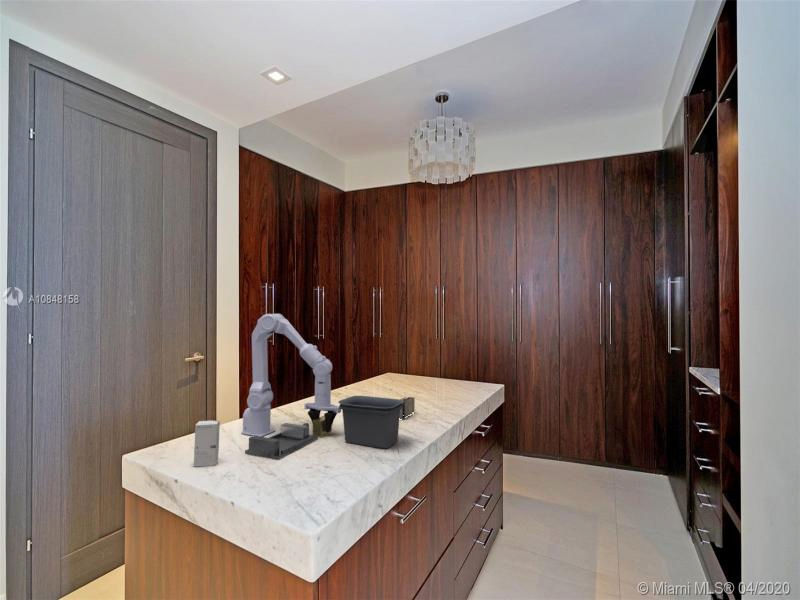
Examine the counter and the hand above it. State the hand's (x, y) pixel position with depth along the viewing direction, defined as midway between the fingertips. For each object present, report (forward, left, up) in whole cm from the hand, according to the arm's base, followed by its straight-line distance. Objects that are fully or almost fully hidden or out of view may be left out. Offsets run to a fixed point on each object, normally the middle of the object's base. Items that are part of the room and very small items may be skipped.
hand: (322, 430), depth 146 cm
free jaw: (-5, -7, 0) cm, 8 cm away
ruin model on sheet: (+19, +34, -2) cm, 39 cm away
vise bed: (-5, -16, -1) cm, 16 cm away
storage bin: (+20, 0, -2) cm, 20 cm away
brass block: (0, 0, -2) cm, 2 cm away
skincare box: (-16, -36, -2) cm, 40 cm away
